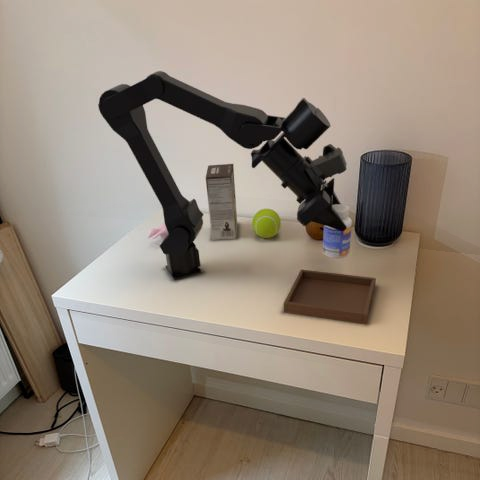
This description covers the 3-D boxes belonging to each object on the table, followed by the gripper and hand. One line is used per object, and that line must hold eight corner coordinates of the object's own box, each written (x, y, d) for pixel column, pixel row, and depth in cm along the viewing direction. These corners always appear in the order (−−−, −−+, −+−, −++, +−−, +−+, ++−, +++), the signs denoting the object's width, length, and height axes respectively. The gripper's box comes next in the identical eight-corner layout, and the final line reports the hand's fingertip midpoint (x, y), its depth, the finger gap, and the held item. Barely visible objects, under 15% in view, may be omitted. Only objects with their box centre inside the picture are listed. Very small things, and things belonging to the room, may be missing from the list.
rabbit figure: (177, 228, 131) (141, 242, 119) (176, 206, 128) (139, 218, 117) (196, 232, 128) (161, 247, 117) (196, 209, 126) (159, 222, 114)
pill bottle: (345, 261, 96) (350, 214, 91) (319, 257, 98) (321, 211, 92) (351, 249, 100) (356, 204, 95) (326, 245, 102) (328, 201, 96)
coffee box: (213, 225, 128) (207, 164, 119) (237, 224, 128) (233, 163, 119) (211, 240, 121) (205, 176, 111) (237, 239, 120) (232, 175, 111)
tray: (283, 312, 93) (283, 302, 92) (300, 277, 103) (300, 269, 102) (365, 324, 88) (366, 314, 87) (375, 286, 98) (376, 277, 97)
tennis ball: (253, 230, 124) (252, 204, 120) (281, 230, 123) (280, 203, 119) (252, 242, 118) (250, 215, 114) (280, 242, 117) (280, 215, 113)
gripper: (318, 150, 79) (380, 216, 83) (324, 122, 94) (376, 179, 98) (271, 195, 85) (331, 254, 89) (283, 162, 100) (334, 214, 104)
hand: (345, 223), depth 95 cm, fingers closed on pill bottle, 5 cm apart
